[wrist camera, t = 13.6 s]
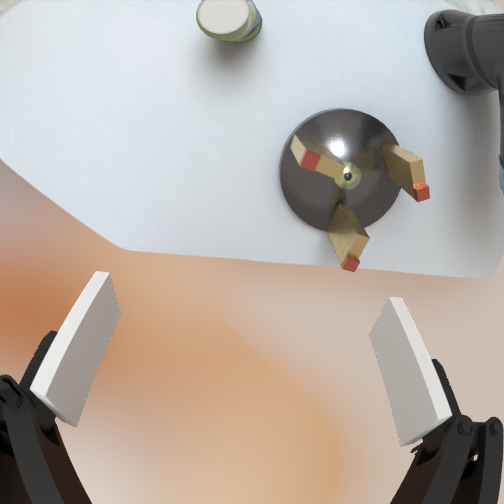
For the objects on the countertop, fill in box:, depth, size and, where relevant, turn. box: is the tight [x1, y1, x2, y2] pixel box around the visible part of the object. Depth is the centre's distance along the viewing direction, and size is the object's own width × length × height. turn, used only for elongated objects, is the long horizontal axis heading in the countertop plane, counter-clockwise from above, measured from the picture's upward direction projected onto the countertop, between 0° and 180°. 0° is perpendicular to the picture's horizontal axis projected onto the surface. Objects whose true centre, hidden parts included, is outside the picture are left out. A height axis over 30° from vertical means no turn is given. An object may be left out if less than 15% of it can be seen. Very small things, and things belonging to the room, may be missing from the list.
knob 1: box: [290, 134, 346, 180], centre depth 31 cm, size 5×2×10 cm, turn 71°
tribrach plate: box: [279, 108, 401, 231], centre depth 38 cm, size 19×19×3 cm
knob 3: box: [380, 142, 430, 202], centre depth 31 cm, size 5×2×10 cm, turn 22°
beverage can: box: [196, 0, 262, 42], centre depth 23 cm, size 6×7×12 cm
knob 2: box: [327, 203, 369, 272], centre depth 37 cm, size 5×2×10 cm, turn 164°
